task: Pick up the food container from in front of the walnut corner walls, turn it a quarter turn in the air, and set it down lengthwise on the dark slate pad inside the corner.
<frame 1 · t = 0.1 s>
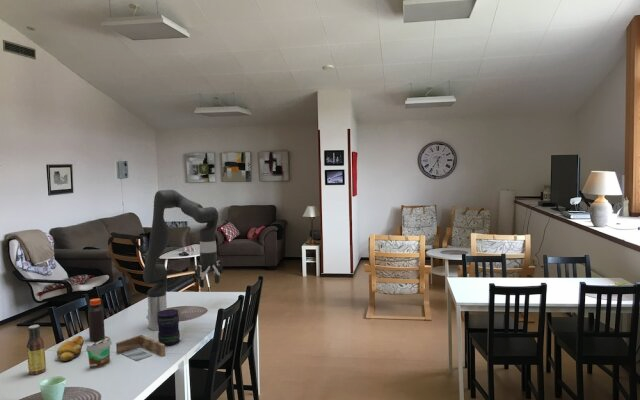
hand: (209, 285, 217), 29 cm above the table, tool pointing down, fingers open, 8 cm apart
rusty blue oil drum: (169, 343, 225), on the table
bread roll: (69, 357, 211), on the table
food container: (103, 364, 203), on the table
vinegar: (97, 339, 231), on the table
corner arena: (140, 354, 212), on the table
sauce bottle: (37, 372, 195), on the table
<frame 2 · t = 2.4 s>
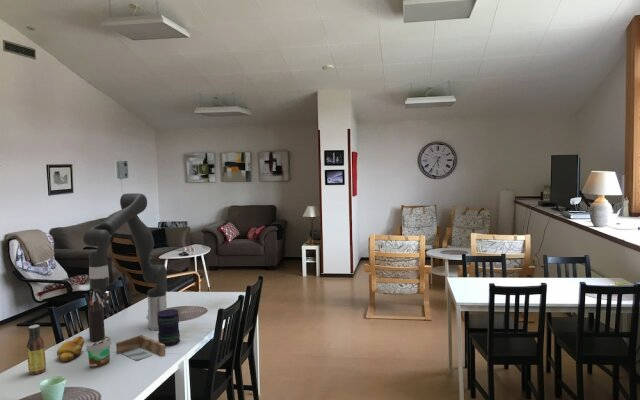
hand: (101, 313, 201), 22 cm above the table, tool pointing down, fingers open, 8 cm apart
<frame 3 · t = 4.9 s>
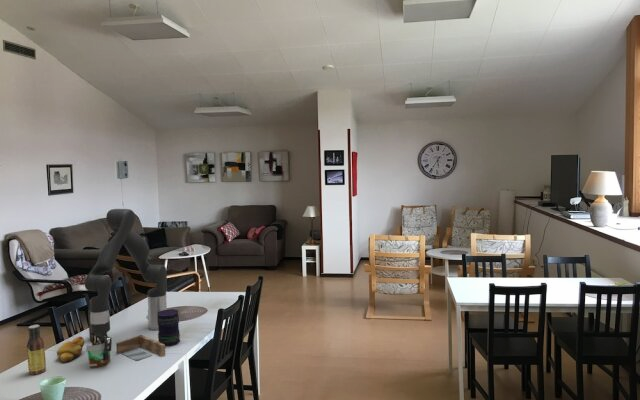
hand: (102, 358, 203), 2 cm above the table, tool pointing down, fingers closed on food container, 6 cm apart
food container: (103, 364, 202), on the table, touching gripper
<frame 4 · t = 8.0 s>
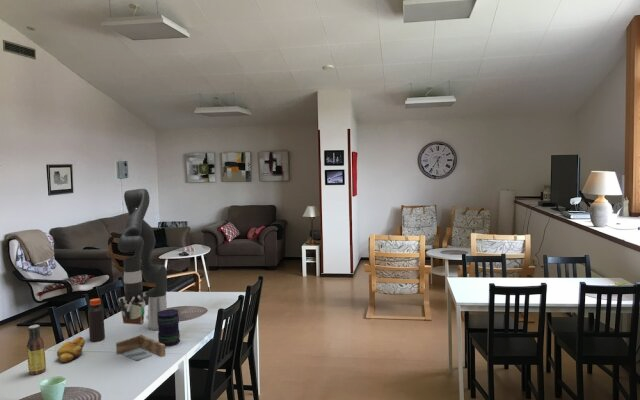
hand: (135, 317, 210), 17 cm above the table, tool pointing down, fingers closed on food container, 6 cm apart
food container: (136, 322, 211), point 15 cm above the table, touching gripper
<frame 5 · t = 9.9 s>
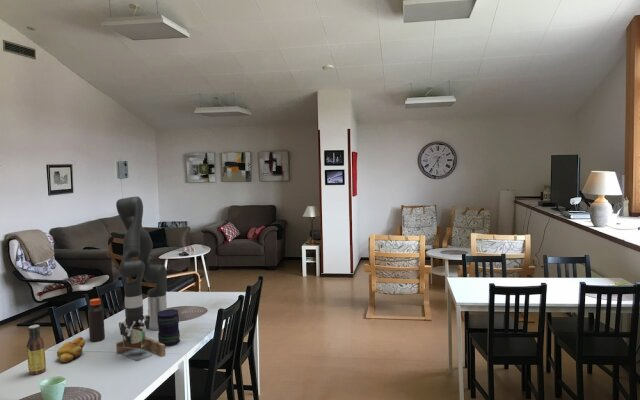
hand: (135, 341, 211), 6 cm above the table, tool pointing down, fingers closed on food container, 6 cm apart
food container: (137, 346, 212), point 4 cm above the table, touching gripper
when the fingers open (4 cm above the table, at t = 11.0 s): food container moves 1 cm, resting on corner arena.
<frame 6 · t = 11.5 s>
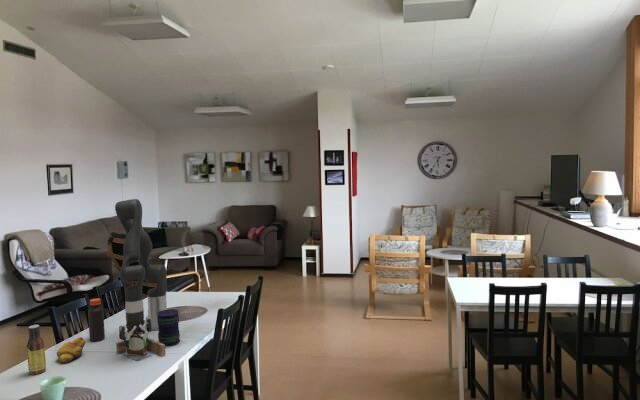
hand: (136, 344, 211), 5 cm above the table, tool pointing down, fingers open, 8 cm apart
food container: (140, 351, 213), point 1 cm above the table, touching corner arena, gripper
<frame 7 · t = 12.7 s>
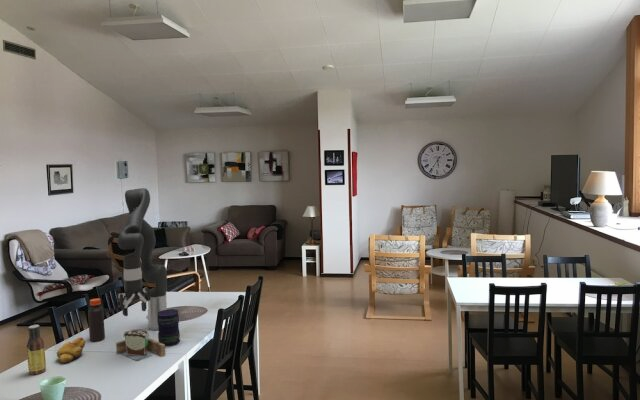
hand: (135, 313, 210), 19 cm above the table, tool pointing down, fingers open, 8 cm apart
food container: (140, 352, 213), resting on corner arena
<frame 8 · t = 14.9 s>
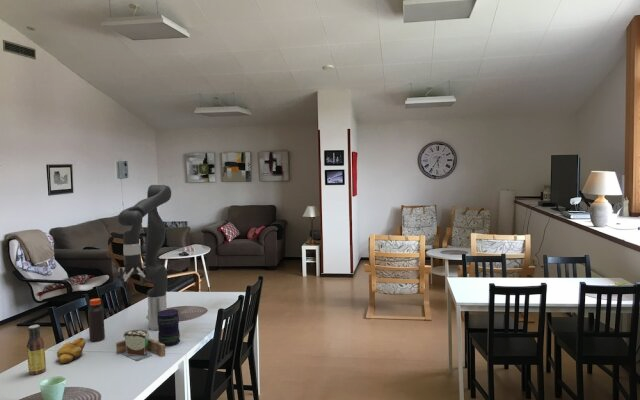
hand: (133, 287, 221), 28 cm above the table, tool pointing down, fingers open, 8 cm apart
at the end: food container 2.0 cm from the target spot, resting on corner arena; food container tilted 0°; the gripper is holding nothing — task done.
